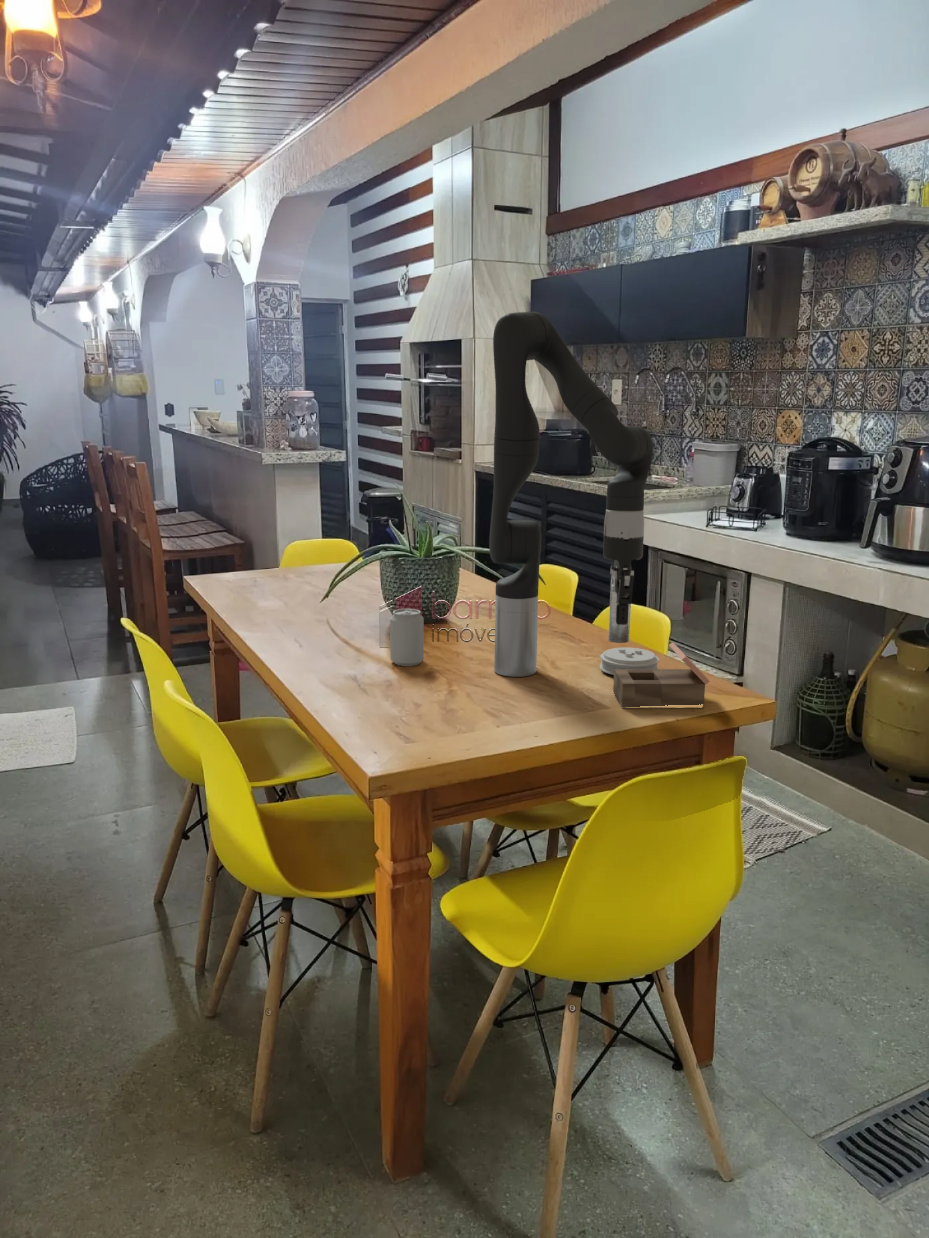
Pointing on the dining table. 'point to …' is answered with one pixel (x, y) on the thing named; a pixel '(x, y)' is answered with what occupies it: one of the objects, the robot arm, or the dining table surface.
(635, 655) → the lid
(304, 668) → the dining table surface
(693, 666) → the pink flat board
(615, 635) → the pin
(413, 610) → the can
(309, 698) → the dining table surface
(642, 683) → the socket block
